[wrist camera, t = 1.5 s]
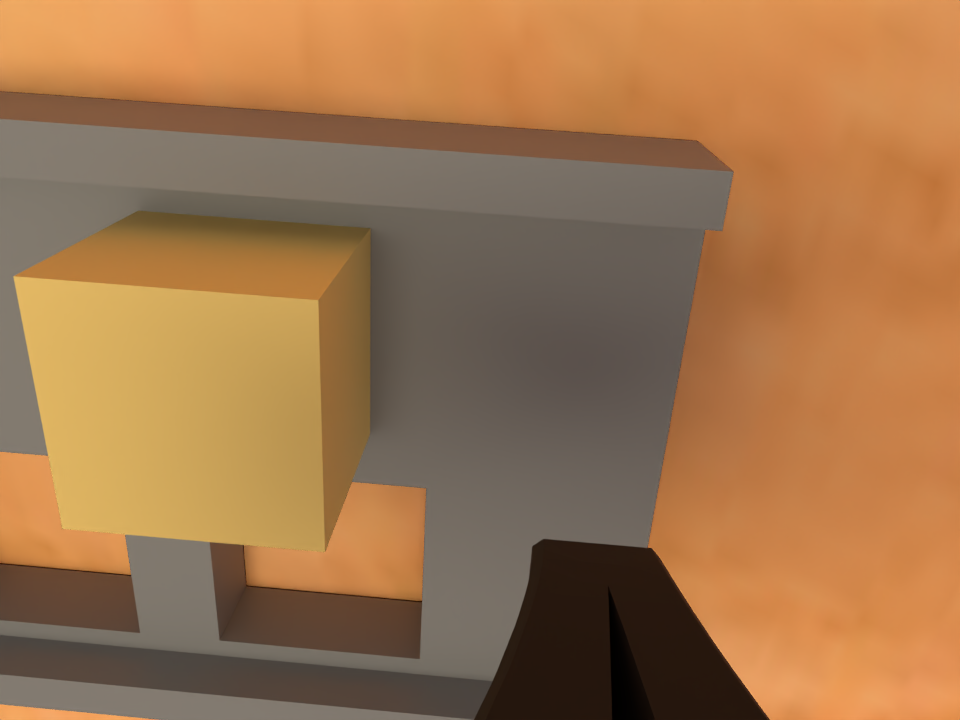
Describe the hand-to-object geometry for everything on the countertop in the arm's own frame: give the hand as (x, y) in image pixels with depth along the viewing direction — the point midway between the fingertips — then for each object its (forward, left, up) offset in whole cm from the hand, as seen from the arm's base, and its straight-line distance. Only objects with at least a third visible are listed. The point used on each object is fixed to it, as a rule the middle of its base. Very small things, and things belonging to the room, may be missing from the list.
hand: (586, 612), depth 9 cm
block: (+6, 0, -7) cm, 10 cm away
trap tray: (+8, +3, -9) cm, 13 cm away
